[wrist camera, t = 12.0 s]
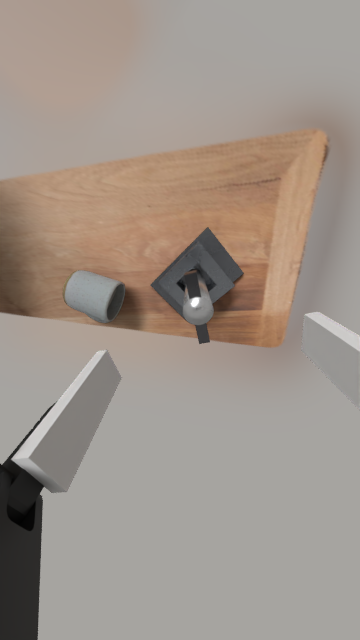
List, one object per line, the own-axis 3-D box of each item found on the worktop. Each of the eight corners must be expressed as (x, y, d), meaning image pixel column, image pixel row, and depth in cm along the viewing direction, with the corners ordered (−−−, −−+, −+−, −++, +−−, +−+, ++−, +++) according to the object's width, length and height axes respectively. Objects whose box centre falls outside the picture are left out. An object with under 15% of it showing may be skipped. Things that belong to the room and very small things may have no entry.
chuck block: (151, 284, 33) (145, 290, 29) (207, 227, 28) (210, 225, 24) (186, 318, 36) (185, 328, 32) (242, 272, 31) (249, 277, 27)
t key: (207, 297, 33) (218, 340, 19) (190, 301, 33) (190, 345, 20) (199, 254, 29) (207, 269, 16) (181, 258, 30) (173, 277, 16)
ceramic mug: (85, 264, 32) (56, 272, 25) (128, 278, 33) (111, 289, 26) (83, 313, 37) (58, 331, 30) (120, 323, 37) (104, 344, 31)
